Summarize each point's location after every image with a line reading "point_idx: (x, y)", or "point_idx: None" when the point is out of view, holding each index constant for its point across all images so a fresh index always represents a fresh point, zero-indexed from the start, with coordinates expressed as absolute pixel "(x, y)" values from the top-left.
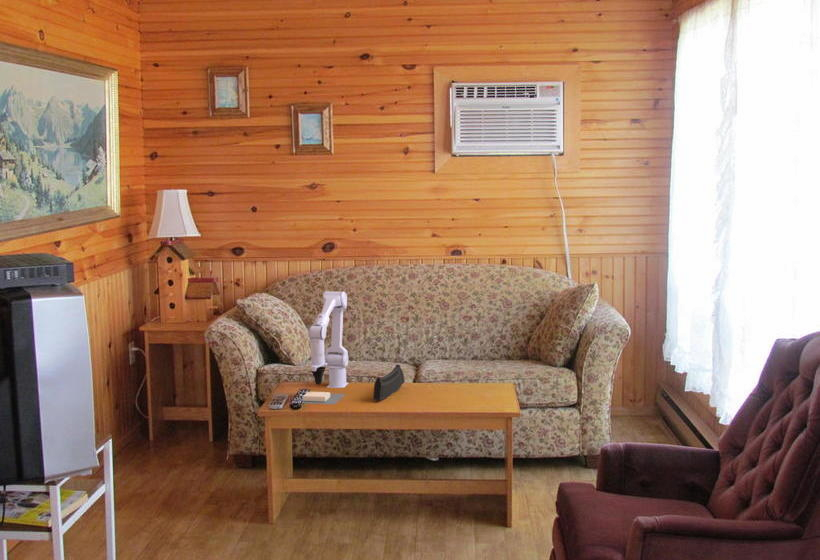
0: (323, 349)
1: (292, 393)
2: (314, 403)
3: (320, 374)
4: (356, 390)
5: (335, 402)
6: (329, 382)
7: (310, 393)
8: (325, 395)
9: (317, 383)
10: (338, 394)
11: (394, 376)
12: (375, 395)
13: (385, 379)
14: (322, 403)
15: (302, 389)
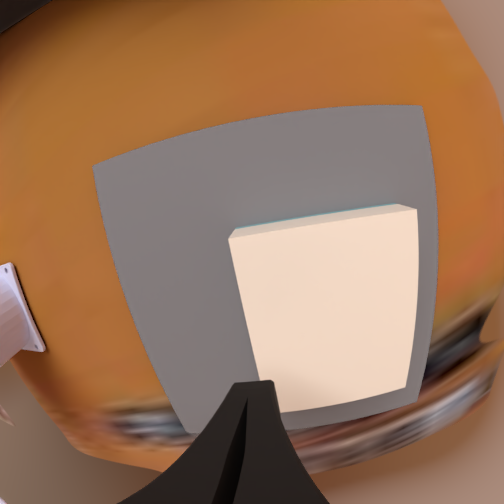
0: None
1: None
2: (434, 269)
3: (323, 496)
4: (11, 171)
5: (372, 116)
6: (17, 350)
7: (323, 381)
8: (368, 228)
9: (279, 411)
10: (118, 212)
11: None
12: None
13: None
14: (426, 210)
15: (127, 435)
